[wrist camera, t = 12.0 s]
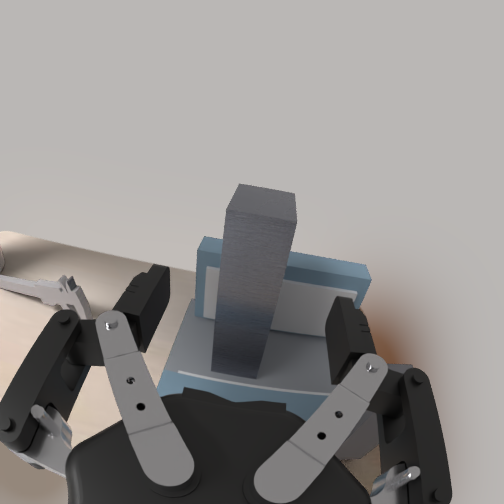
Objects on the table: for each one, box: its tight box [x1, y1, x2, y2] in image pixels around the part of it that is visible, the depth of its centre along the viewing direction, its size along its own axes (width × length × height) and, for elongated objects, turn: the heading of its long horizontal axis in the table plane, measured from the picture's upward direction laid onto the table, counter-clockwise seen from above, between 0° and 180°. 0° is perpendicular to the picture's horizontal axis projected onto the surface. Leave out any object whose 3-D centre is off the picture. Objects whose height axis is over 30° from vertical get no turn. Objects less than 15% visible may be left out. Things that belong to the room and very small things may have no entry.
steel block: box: [211, 184, 297, 379], centre depth 22 cm, size 4×5×15 cm
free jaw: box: [157, 364, 413, 460], centre depth 17 cm, size 16×4×9 cm, turn 84°
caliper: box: [0, 275, 93, 320], centre depth 26 cm, size 20×1×6 cm, turn 81°
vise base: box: [157, 236, 372, 393], centre depth 23 cm, size 17×16×9 cm
